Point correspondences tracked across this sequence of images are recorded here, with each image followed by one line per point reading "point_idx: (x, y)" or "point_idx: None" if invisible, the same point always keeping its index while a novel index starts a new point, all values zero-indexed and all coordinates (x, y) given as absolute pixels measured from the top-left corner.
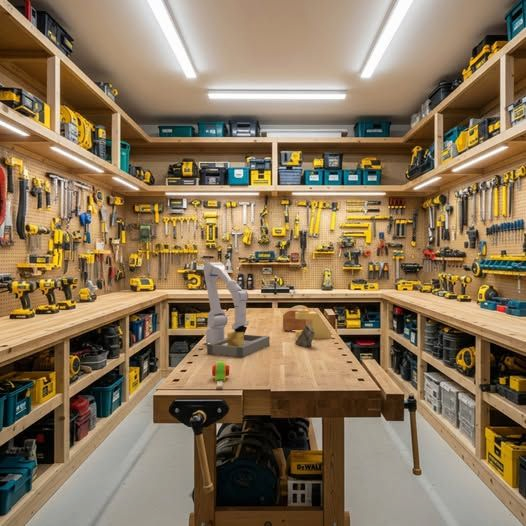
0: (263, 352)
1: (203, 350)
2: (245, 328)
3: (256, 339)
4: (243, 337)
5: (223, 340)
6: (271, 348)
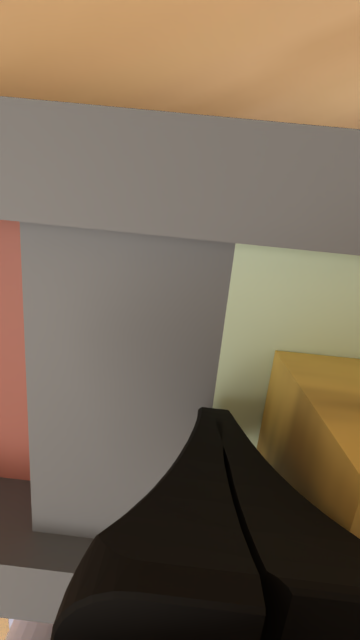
0: (319, 25)
1: None
2: (230, 564)
3: (68, 216)
4: (326, 402)
5: None
6: (33, 3)
